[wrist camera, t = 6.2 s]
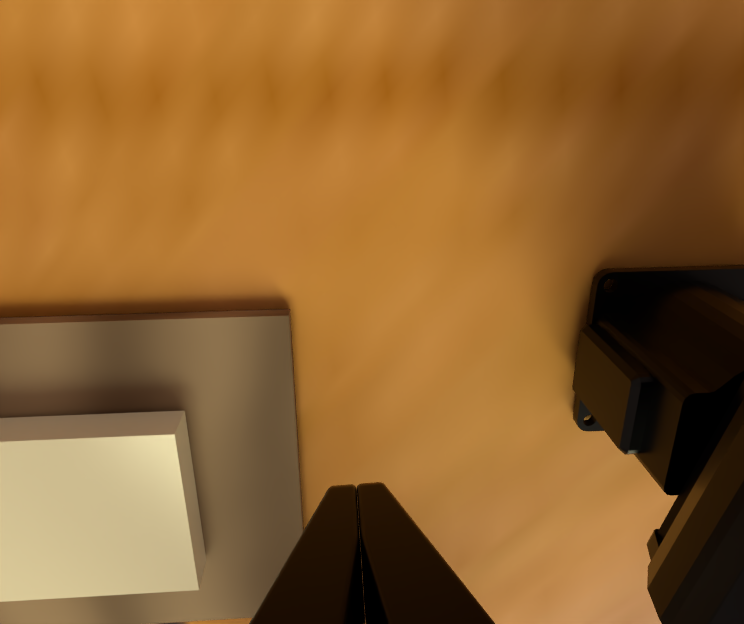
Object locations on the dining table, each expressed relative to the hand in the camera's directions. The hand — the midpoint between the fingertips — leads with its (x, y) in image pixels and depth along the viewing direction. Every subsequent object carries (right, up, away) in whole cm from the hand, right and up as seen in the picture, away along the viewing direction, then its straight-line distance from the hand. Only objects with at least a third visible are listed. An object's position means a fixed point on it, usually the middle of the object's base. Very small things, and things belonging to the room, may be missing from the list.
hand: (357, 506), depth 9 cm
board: (-10, -4, +14) cm, 17 cm away
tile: (-6, -4, +13) cm, 15 cm away
